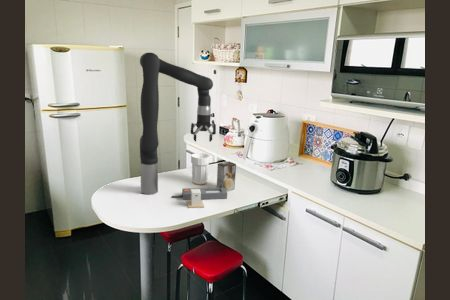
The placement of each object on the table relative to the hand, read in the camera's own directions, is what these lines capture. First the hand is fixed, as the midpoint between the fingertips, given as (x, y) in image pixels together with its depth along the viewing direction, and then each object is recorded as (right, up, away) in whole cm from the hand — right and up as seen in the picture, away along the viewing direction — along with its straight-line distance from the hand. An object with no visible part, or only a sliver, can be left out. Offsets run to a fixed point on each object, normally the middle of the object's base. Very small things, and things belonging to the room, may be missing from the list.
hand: (202, 141), depth 186 cm
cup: (-3, -25, +14) cm, 29 cm away
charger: (-3, -33, -16) cm, 37 cm away
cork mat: (-3, -34, -16) cm, 37 cm away
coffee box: (+13, -29, +6) cm, 32 cm away
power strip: (-2, -31, -7) cm, 32 cm away
